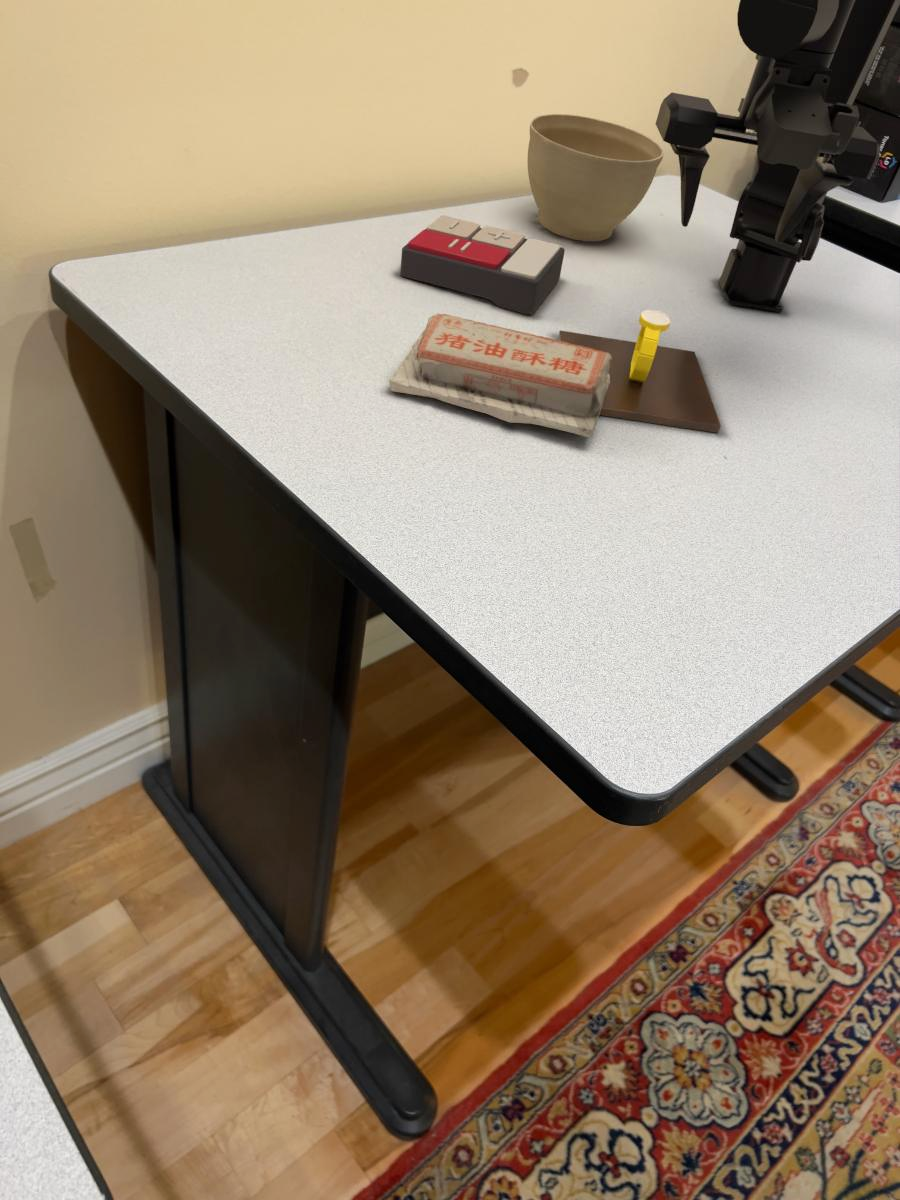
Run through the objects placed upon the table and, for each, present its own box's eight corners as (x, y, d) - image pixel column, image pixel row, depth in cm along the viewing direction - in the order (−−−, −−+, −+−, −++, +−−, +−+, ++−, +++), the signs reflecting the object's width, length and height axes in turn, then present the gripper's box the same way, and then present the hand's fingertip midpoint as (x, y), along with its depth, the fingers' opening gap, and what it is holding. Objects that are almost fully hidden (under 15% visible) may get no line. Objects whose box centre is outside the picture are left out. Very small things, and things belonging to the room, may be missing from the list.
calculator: (439, 210, 99) (567, 240, 96) (435, 248, 102) (560, 279, 99) (400, 240, 92) (539, 275, 89) (398, 281, 94) (532, 316, 91)
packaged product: (621, 338, 78) (603, 392, 71) (609, 387, 81) (590, 443, 74) (426, 294, 80) (390, 341, 73) (422, 343, 84) (387, 393, 77)
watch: (623, 357, 86) (642, 299, 82) (651, 363, 86) (671, 306, 82) (620, 386, 82) (639, 326, 78) (649, 393, 82) (670, 333, 78)
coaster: (692, 358, 90) (694, 351, 90) (718, 433, 80) (721, 425, 80) (557, 337, 89) (559, 329, 89) (566, 410, 79) (568, 402, 78)
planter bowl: (622, 267, 105) (650, 171, 98) (495, 229, 108) (513, 132, 100) (648, 226, 117) (675, 138, 109) (533, 193, 119) (552, 104, 112)
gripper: (708, 45, 66) (646, 251, 77) (943, 89, 68) (850, 285, 79) (684, 15, 75) (631, 205, 85) (895, 55, 76) (816, 237, 87)
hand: (731, 233), depth 84 cm, fingers open, 9 cm apart
